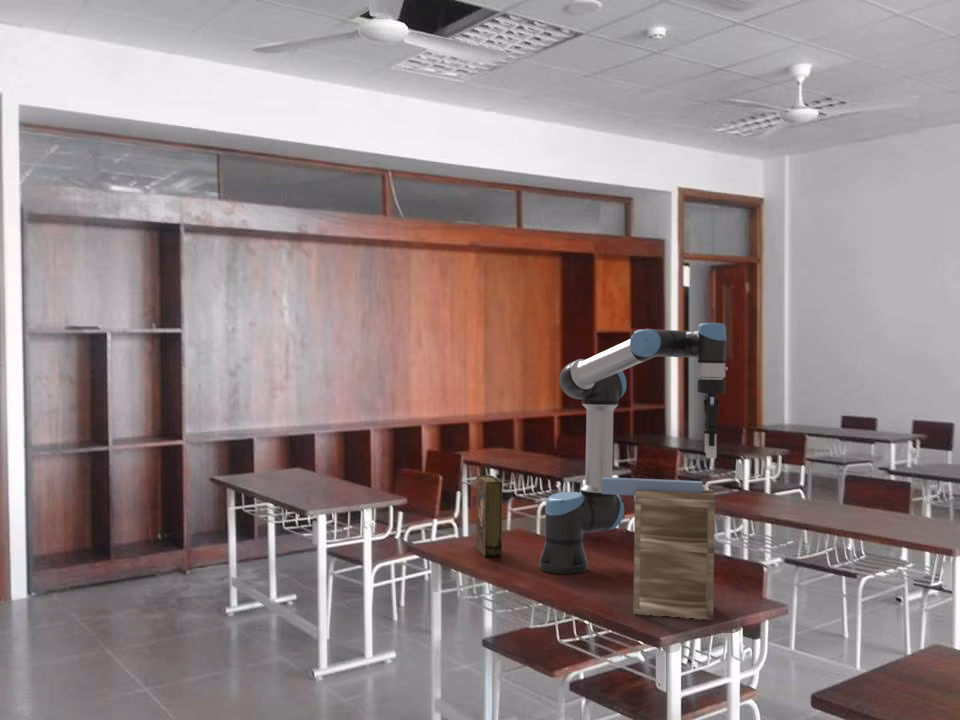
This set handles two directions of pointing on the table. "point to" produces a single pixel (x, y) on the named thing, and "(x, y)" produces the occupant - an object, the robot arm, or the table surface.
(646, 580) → the shelf stand
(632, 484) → the block
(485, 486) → the book
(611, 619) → the table surface
